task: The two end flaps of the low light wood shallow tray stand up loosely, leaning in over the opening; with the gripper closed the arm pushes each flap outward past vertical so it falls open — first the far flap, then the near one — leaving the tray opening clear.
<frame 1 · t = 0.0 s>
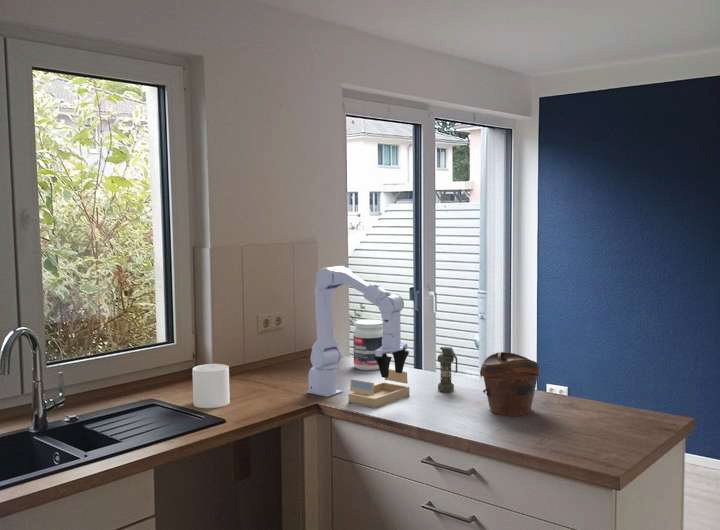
hand: (391, 375, 231), 10 cm above the worktop, fingers open, 7 cm apart
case: (509, 410, 226), on the worktop
near flap: (361, 387, 232), point 6 cm above the worktop, hinge at 86.0°
grenade: (447, 391, 250), on the worktop
light wood shallow tray: (379, 399, 240), on the worktop
supplement tub: (369, 368, 287), on the worktop
white cylinder: (211, 404, 238), on the worktop
far flap: (395, 375, 247), point 6 cm above the worktop, hinge at 86.0°
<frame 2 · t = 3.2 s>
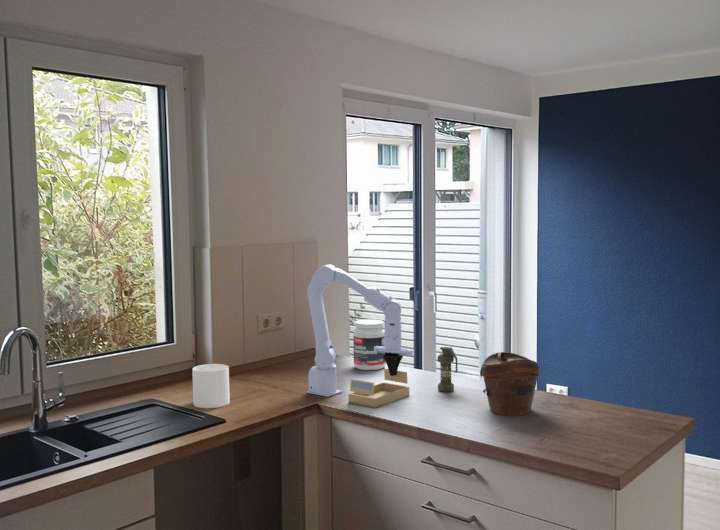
hand: (393, 375, 246), 7 cm above the worktop, fingers closed, pressing on far flap
far flap: (395, 375, 247), point 6 cm above the worktop, hinge at 86.2°, touching gripper
everything else where it was.
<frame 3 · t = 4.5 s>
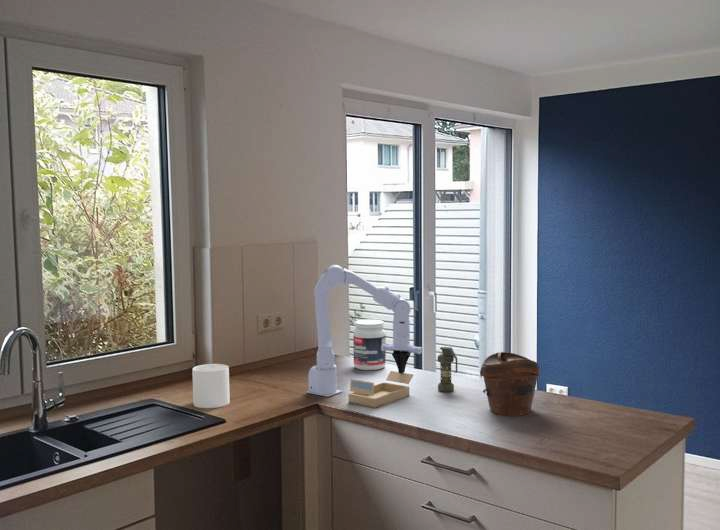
hand: (401, 372, 250), 7 cm above the worktop, fingers closed
far flap: (399, 377, 249), point 5 cm above the worktop, hinge at 140.2°
everything else where it was.
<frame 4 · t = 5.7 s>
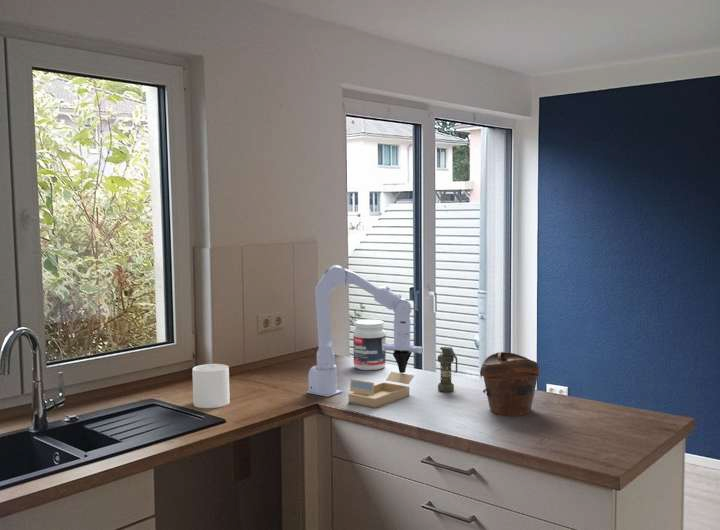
hand: (402, 372, 250), 6 cm above the worktop, fingers closed
far flap: (399, 378, 249), point 5 cm above the worktop, hinge at 145.8°
everything else where it was.
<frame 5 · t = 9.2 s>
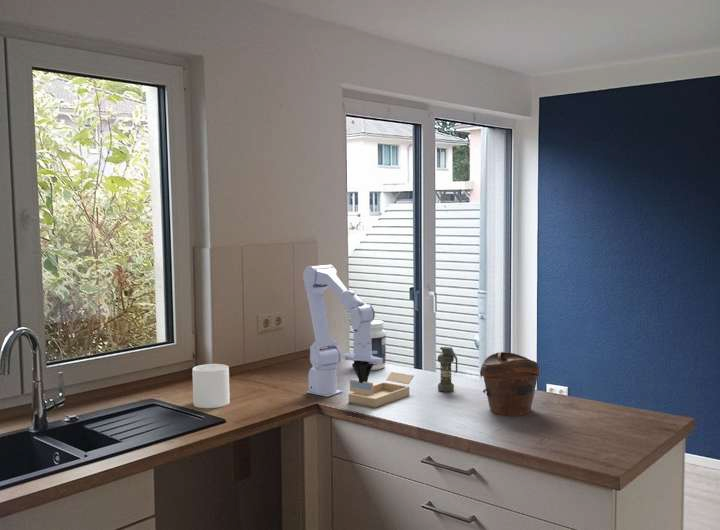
hand: (363, 384, 233), 7 cm above the worktop, fingers closed, pressing on near flap
near flap: (361, 387, 232), point 6 cm above the worktop, hinge at 91.9°, touching gripper
far flap: (399, 378, 249), point 5 cm above the worktop, hinge at 146.5°
everything else where it was.
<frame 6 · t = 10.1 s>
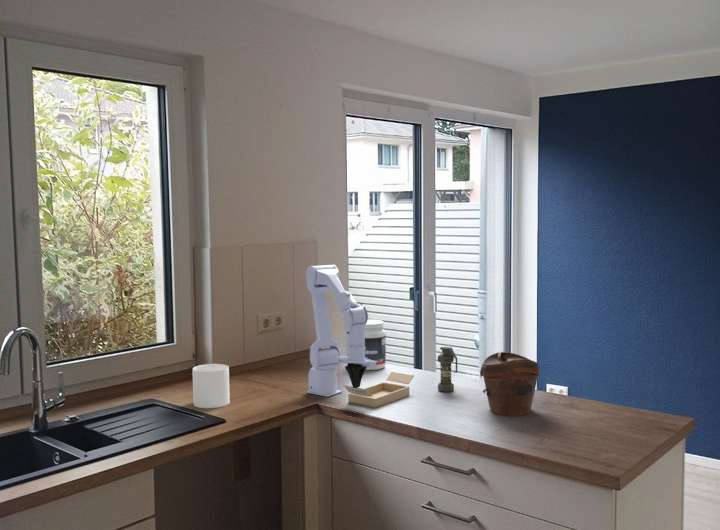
hand: (356, 387, 230), 7 cm above the worktop, fingers closed, pressing on near flap
near flap: (357, 391, 231), point 5 cm above the worktop, hinge at 136.6°, touching gripper
everything else where it was.
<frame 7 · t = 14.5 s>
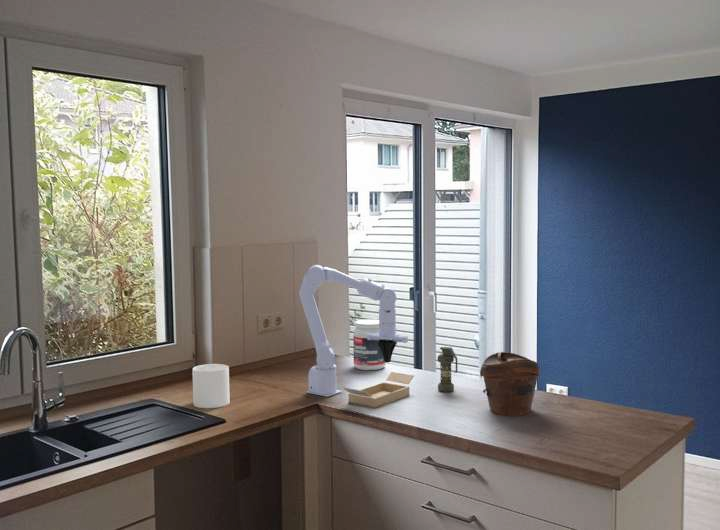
hand: (387, 361, 249), 10 cm above the worktop, fingers closed
near flap: (357, 392, 231), point 5 cm above the worktop, hinge at 145.9°
everything else where it was.
at the end: far flap at +146° (first picture: +86°); near flap at +146° (first picture: +86°) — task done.
